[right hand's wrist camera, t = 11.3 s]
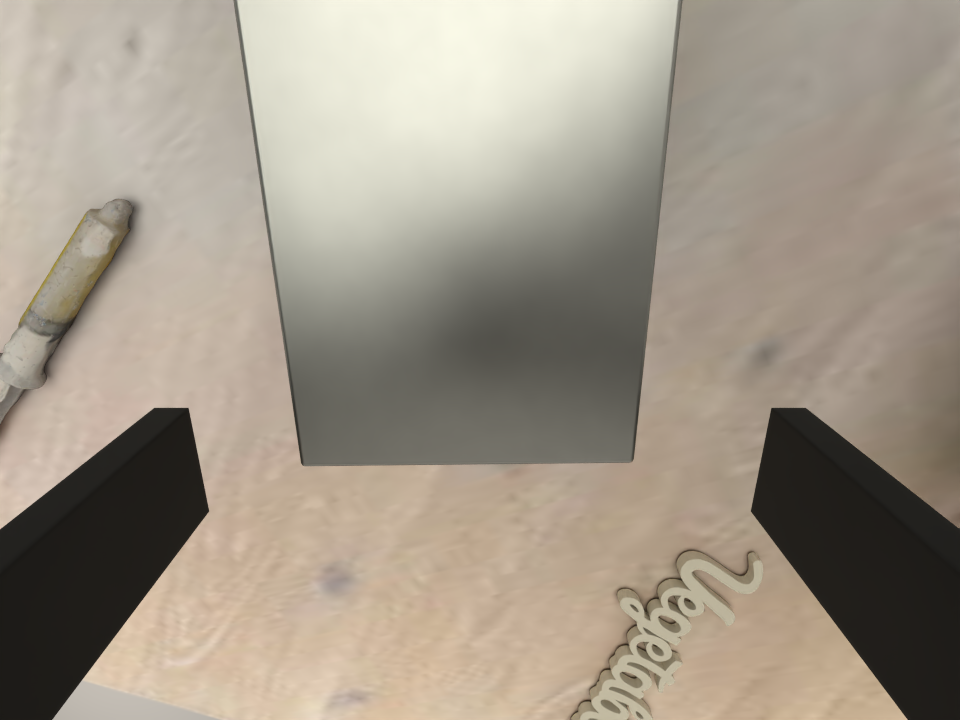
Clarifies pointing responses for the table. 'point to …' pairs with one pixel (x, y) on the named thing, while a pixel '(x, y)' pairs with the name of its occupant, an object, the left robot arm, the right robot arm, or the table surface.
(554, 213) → the bar
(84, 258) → the syringe
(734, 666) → the table surface
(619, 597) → the decorative sign
